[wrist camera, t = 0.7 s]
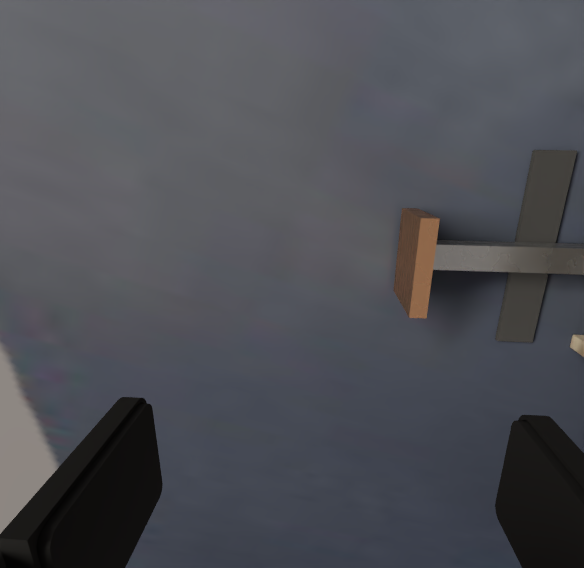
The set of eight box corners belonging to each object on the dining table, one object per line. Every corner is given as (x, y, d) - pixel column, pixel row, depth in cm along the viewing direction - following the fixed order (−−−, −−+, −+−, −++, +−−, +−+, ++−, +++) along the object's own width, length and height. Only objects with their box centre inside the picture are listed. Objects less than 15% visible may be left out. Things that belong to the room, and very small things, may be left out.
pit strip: (532, 150, 28) (535, 150, 28) (573, 150, 28) (577, 150, 28) (495, 338, 33) (497, 340, 33) (530, 340, 33) (532, 342, 33)
